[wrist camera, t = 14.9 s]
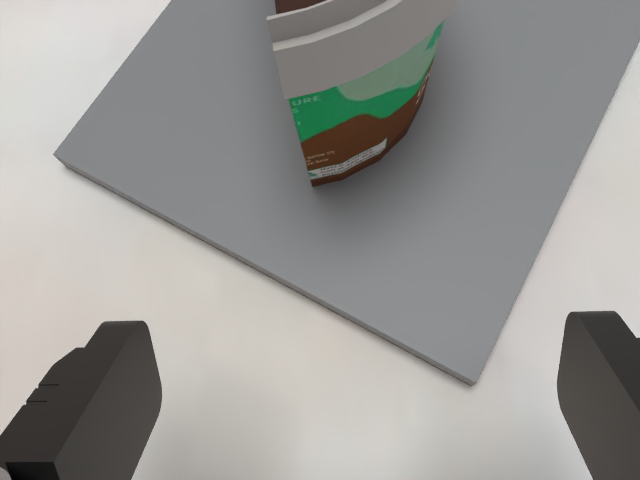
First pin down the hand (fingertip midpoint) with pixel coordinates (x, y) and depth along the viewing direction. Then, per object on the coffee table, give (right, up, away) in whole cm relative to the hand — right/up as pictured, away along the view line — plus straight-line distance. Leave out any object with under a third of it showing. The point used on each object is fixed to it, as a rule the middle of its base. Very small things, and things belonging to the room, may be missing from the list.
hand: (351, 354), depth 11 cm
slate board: (+1, +9, +13) cm, 15 cm away
